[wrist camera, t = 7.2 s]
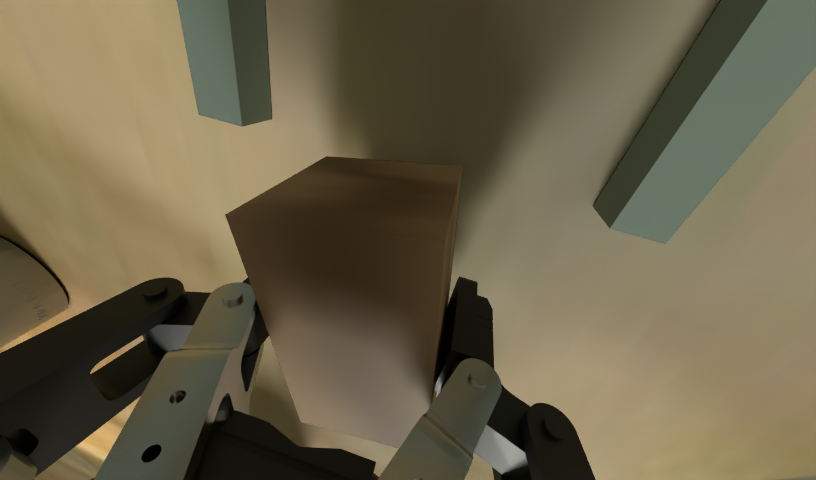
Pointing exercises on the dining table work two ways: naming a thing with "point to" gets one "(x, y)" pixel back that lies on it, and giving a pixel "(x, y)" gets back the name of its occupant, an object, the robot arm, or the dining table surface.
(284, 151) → the dining table surface
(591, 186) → the dining table surface
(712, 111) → the frame
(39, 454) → the robot arm
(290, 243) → the block
